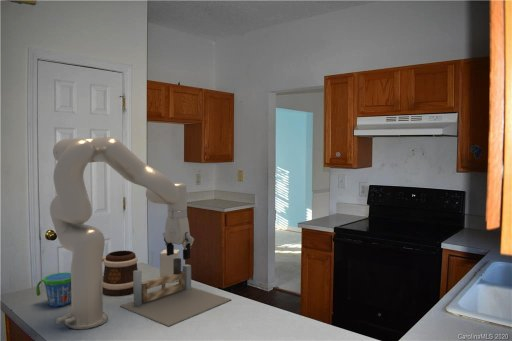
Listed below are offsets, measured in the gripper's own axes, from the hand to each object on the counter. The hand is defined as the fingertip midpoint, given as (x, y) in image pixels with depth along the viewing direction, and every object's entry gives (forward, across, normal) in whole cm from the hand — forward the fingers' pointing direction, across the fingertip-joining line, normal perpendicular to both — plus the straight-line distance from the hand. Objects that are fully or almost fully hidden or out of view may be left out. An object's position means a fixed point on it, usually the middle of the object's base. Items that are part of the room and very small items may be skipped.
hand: (178, 256), depth 159 cm
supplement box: (+15, -16, +9) cm, 23 cm away
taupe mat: (+14, +8, -8) cm, 19 cm away
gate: (+13, 0, -8) cm, 15 cm away
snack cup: (+14, -25, -35) cm, 46 cm away
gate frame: (+14, 0, -8) cm, 16 cm away
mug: (+14, -23, -13) cm, 30 cm away
